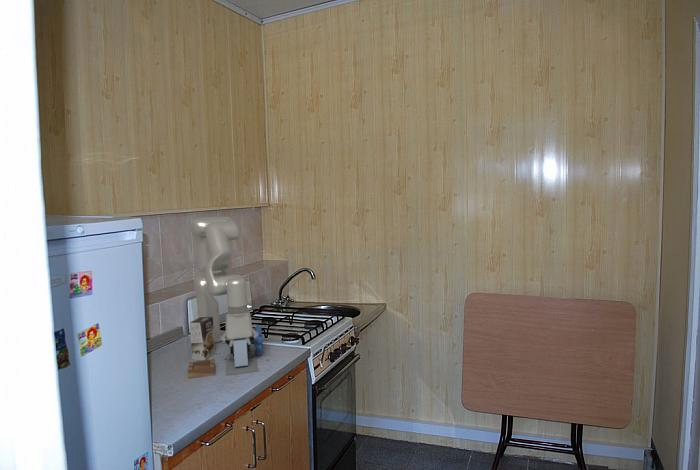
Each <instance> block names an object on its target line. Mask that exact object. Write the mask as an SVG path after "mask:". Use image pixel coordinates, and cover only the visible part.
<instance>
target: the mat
mask: <svg viewBox="0 0 700 470" xmlns="http://www.w3.org/2000/svg"><path fill="white" fill-rule="evenodd" d="M256 372H259V369H258V363H257V358H256V357H255V358H249V359H248V365H246V366H238V367H235V360H233V361H226V362H225V376H226V377H227V376H235V375H243V374H248V373H256Z"/></svg>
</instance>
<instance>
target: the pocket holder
mask: <svg viewBox="0 0 700 470" xmlns="http://www.w3.org/2000/svg"><path fill="white" fill-rule="evenodd" d="M215 361H216V359H215V358H213V359H206V360H195V361H189V363H188V367H187V379H188V380H189V379H196V378H202V377H204V378H205V377H210V376H215V375H216V374H215V373H216V362H215Z"/></svg>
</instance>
